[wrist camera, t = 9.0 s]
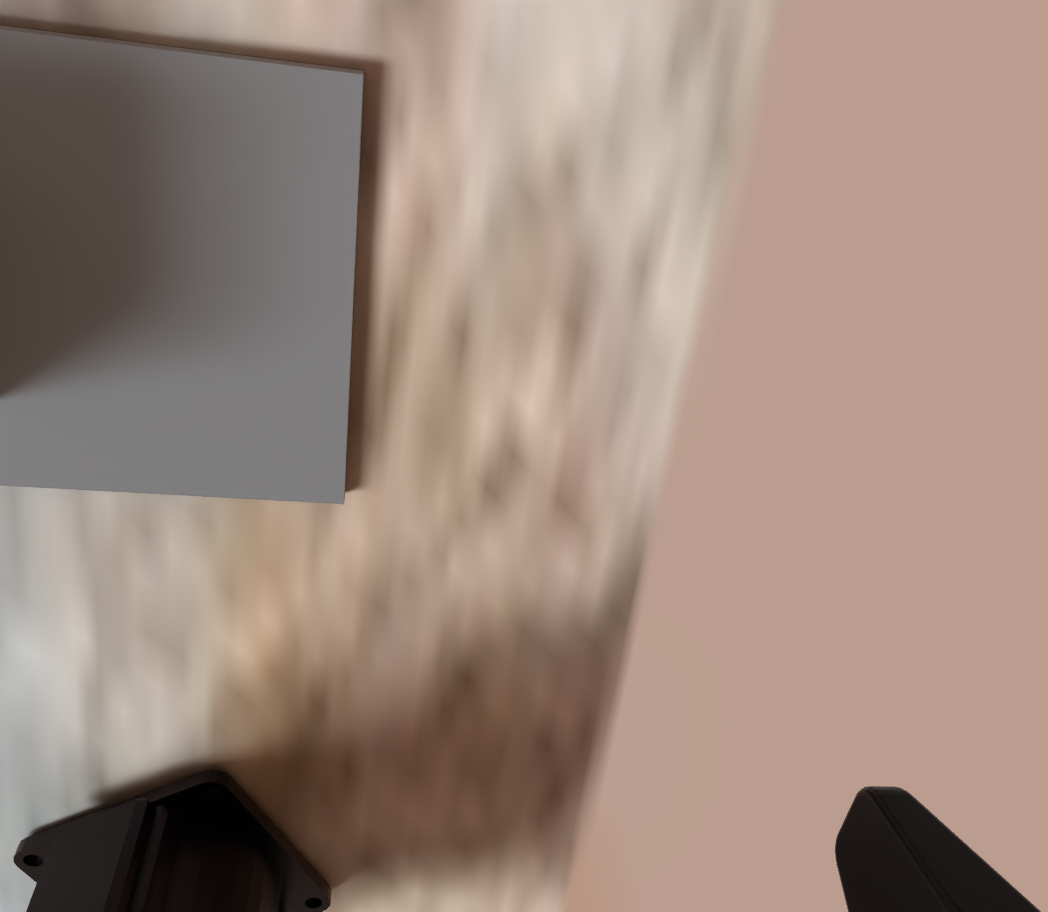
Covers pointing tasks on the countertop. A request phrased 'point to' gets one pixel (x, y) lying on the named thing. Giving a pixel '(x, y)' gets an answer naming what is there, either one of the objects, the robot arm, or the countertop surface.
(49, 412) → the mat
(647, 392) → the countertop surface
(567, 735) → the countertop surface
